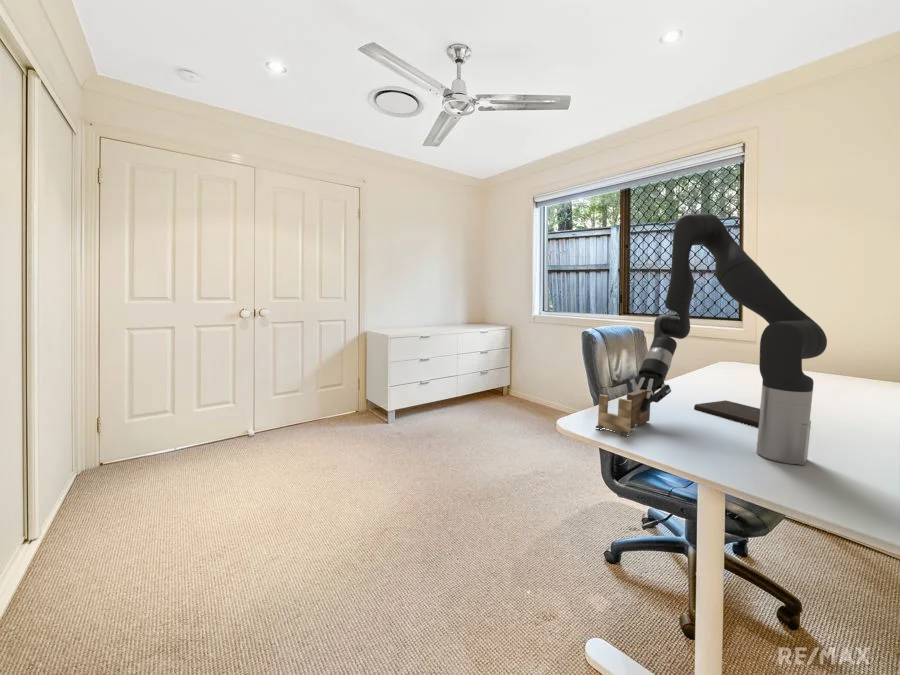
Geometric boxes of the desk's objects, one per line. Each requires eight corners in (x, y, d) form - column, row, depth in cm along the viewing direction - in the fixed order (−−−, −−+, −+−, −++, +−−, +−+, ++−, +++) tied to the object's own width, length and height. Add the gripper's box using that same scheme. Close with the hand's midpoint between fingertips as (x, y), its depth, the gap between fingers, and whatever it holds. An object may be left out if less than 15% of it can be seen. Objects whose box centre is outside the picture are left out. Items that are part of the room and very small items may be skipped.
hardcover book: (725, 406, 141) (725, 400, 141) (800, 426, 120) (801, 418, 120) (693, 410, 136) (694, 404, 136) (766, 432, 114) (767, 424, 114)
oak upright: (632, 433, 111) (634, 399, 110) (625, 437, 109) (627, 402, 108) (602, 426, 118) (603, 393, 117) (595, 429, 115) (596, 395, 114)
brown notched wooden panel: (649, 420, 121) (651, 388, 120) (632, 429, 113) (633, 395, 112) (642, 419, 123) (644, 387, 122) (625, 427, 115) (626, 394, 114)
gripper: (630, 355, 127) (611, 398, 120) (677, 360, 117) (659, 407, 110) (637, 369, 131) (618, 412, 124) (682, 375, 121) (665, 422, 114)
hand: (637, 409), depth 117 cm, fingers closed on brown notched wooden panel, 2 cm apart
